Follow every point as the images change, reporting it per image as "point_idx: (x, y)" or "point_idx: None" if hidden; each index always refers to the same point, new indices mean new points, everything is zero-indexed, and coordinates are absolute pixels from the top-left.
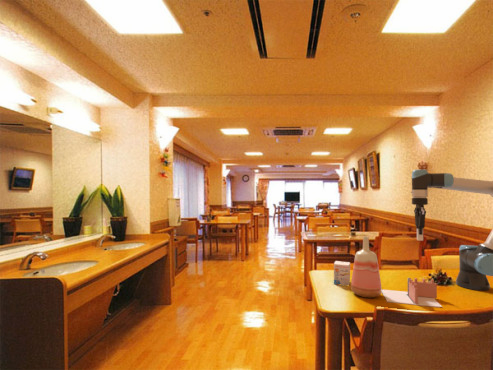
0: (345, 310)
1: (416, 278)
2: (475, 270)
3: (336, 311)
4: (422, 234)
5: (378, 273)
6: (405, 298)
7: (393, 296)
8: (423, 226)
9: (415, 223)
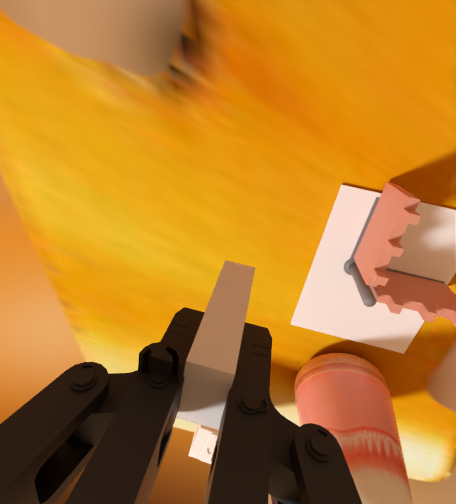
0: (446, 452)
1: (382, 278)
2: None
3: (448, 467)
4: (244, 315)
5: (390, 429)
6: None
7: (364, 319)
8: (331, 470)
9: (44, 466)
